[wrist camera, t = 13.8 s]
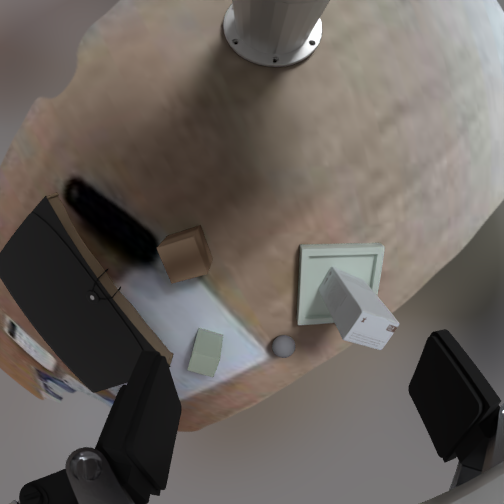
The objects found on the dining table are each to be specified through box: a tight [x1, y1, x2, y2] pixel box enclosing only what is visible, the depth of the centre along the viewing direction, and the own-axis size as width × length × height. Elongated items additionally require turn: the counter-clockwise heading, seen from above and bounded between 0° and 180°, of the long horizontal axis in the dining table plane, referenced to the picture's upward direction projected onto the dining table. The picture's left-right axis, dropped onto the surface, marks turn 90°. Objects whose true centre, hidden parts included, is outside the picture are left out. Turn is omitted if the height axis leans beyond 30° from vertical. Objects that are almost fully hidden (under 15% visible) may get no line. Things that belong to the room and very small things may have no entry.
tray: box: [296, 243, 385, 325], centre depth 40 cm, size 12×12×2 cm
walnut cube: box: [157, 225, 213, 283], centre depth 37 cm, size 5×5×5 cm
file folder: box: [0, 193, 173, 392], centre depth 42 cm, size 33×4×24 cm
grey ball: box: [272, 335, 295, 358], centre depth 43 cm, size 4×4×4 cm
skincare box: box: [319, 267, 399, 350], centre depth 34 cm, size 6×4×12 cm
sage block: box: [188, 328, 223, 377], centre depth 42 cm, size 4×4×6 cm
